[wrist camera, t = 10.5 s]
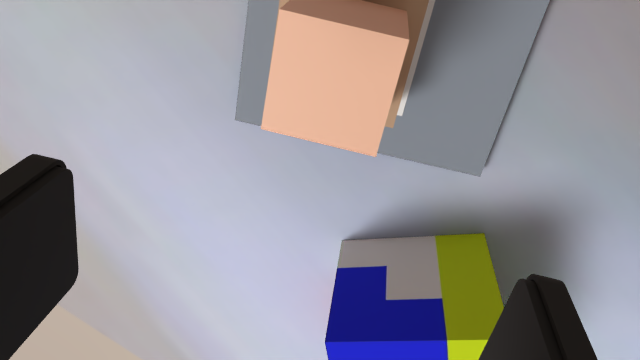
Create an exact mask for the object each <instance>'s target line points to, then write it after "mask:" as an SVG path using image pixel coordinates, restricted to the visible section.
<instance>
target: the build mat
mask: <svg viewBox="0 0 640 360" xmlns="http://www.w3.org/2000/svg"><path fill="white" fill-rule="evenodd" d="M549 1H550V0H429V3H428V6H427V10H426V13H425V17H424V20H423V24H422V27H421V31H420V34H419V38H418V42H417V45H416V49H415V52H414V56H413V59H412V63H411V66H410V70H409V73H408V77H407V81H406V84H405V88H404V91H403V95H402V98H401V102H400V105H399V109H398V112H397V116H396V120H395V123H394V127H393V128H390V127H386V126H385V127H384V130H383V134H382V137H381V141H380V144H379V148H378V151H377V153H379V154H384V155H388V156H392V157H397V158H401V159H405V160H410V161H414V162H418V163H423V164H427V165H431V166H436V167H440V168H444V169H449V170H453V171H457V172H462V173H466V174H470V175H475V176H479V177H480V175H481V173H482V170H483V168H484V165H485V163H486V160H487V158H488V155H489V153H490V150H491V148H492V145H493V143H494V140H495V138H496V135H497V132H498V130H499V127H500V125H501V122H502V120H503V117H504V115H505V112H506V110H507V107H508V105H509V102H510V100H511V97H512V94H513V92H514V89H515V87H516V84H517V82H518V79H519V77H520V74H521V72H522V69H523V67H524V64H525V62H526V59H527V57H528V54H529V51H530V49H531V46H532V44H533V41H534V39H535V36H536V34H537V31H538V29H539V26H540V24H541V21H542V19H543V16H544V13H545V11H546V8H547V6H548V3H549ZM278 7H279V0H248V9H247V18H246V27H245V36H244V45H243V54H242V62H241V71H240V80H239V89H238V98H237V107H236V116H235V120H236V121H241V122H245V123H249V124H254V125H258V126H261V125H262V118H263V112H264V105H265V99H266V92H267V85H268V78H269V71H270V64H271V57H272V50H273V43H274V36H275V29H276V22H277V15H278Z"/></svg>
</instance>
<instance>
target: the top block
mask: <svg viewBox="0 0 640 360" xmlns="http://www.w3.org/2000/svg"><path fill="white" fill-rule="evenodd" d="M408 43H409V28H408V16H407V11H405V10H401V9H396V8H392V7H388V6H384V5H379V4H375V3H371V2H367V1H362V0H289V1H288V2H287V3H286V4H285V5H284V6H282V7H281V8H280V9H279V15H278V21H277V28H276V34H275V41H274V47H273V54H272V60H271V67H270V73H269V79H268V86H267V92H266V99H265V105H264V112H263V118H262V125H261V129H263V130H267V131H271V132H275V133H279V134H284V135H288V136H292V137H296V138H300V139H304V140H308V141H312V142H317V143H321V144H325V145H329V146H333V147H337V148H341V149H345V150H349V151H354V152H358V153H362V154H366V155H370V156H374V157H376V155H377V151H378V148H379V144H380V141H381V137H382V134H383V130H384V127H385V123H386V120H387V116H388V113H389V109H390V106H391V103H392V99H393V96H394V92H395V89H396V85H397V82H398V78H399V75H400V71H401V68H402V64H403V61H404V57H405V54H406V50H407V47H408Z"/></svg>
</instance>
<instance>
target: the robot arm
mask: <svg viewBox="0 0 640 360" xmlns="http://www.w3.org/2000/svg"><path fill="white" fill-rule="evenodd" d="M77 275H78V254H77V237H76V220H75V203H74V185H73V174H72V172H71V170H69V169H66V165H65V163H64V162H63V161H61V160H58V159H54V158H49V157H45V156H41V155H37V154H32V155H30V156H28V157H26V158H25V159H23V160H22V161H20V162H19V163H17V164H16V165H14V166H13V167H11V168H10V169H8V170H7V171H5V172H4V173H2V174H1V175H0V360H9V359H10V357H11V356H12V355H13V354H14V353H15V352H16V350H17V349H18V348H19V347H20V346H21V345H22V343H23V342H24V341H25V340H26V339H27V338H28V337H29V336H30V334H31V333H32V332H33V331H34V330H35V329H36V328H37V326H38V325H39V324H40V323H41V322H42V321H43V320H44V318H45V317H46V316H47V315H48V314H49V313H50V311H51V310H52V309H53V308H54V307H55V306H56V305H57V303H58V302H59V301H60V300H61V299H62V298H63V297H64V295H65V294H66V293H67V292H68V291H69V290H70V289H71V287H72V286H73V285H74V283H75V281H76V278H77ZM478 360H597V357H596V355H595V353H594V350H593V348H592V346H591V343H590V341H589V339H588V337H587V334H586V332H585V330H584V327H583V325H582V323H581V320H580V318H579V316H578V314H577V311H576V309H575V307H574V304H573V302H572V300H571V297H570V295H569V293H568V291H567V288H566V286H565V284H564V283H563V282H562V281H560V280H556V279H552V278H548V277H544V276H540V275H536V274H532V275H530V276H529V277H528V278H527V280H526V279H519V280H518V282H517V283H516V285H515V287H514V289H513V291H512V293H511V295H510V297H509V299H508V301H507V303H506V305H505V307H504V309H503V311H502V313H501V315H500V317H499V319H498V321H497V323H496V325H495V327H494V329H493V331H492V333H491V335H490V337H489V339H488V341H487V343H486V345H485V347H484V349H483V351H482V353H481V355H480V357H479V359H478Z"/></svg>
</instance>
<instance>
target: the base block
mask: <svg viewBox="0 0 640 360" xmlns="http://www.w3.org/2000/svg"><path fill="white" fill-rule="evenodd" d="M288 1H289V0H279V7H278V15H279V9H280V8H281V7H282V6H284V5H285V4H286V3H287V2H288ZM362 1H367V2H371V3H375V4H379V5H384V6H388V7H392V8H396V9H401V10H405V11H407V16H408V28H409V43H408V47H407V50H406V54H405V57H404V61H403V64H402V68H401V71H400V75H399V78H398V82H397V85H396V89H395V92H394V96H393V99H392V103H391V106H390V109H389V113H388V116H387V120H386V123H385V126H386V127H390V128H393V127H394V123H395V120H396V116H397V112H398V109H399V105H400V102H401V98H402V95H403V91H404V88H405V84H406V81H407V77H408V73H409V70H410V66H411V63H412V59H413V56H414V52H415V49H416V45H417V42H418V38H419V34H420V31H421V27H422V24H423V20H424V17H425V13H426V10H427V6H428V3H429V0H362ZM278 15H277V21H278ZM276 28H277V22H276ZM275 34H276V29H275ZM274 41H275V36H274ZM273 47H274V43H273ZM272 54H273V50H272ZM271 60H272V57H271ZM270 67H271V64H270ZM269 73H270V71H269ZM268 79H269V78H268ZM267 86H268V85H267Z"/></svg>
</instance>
